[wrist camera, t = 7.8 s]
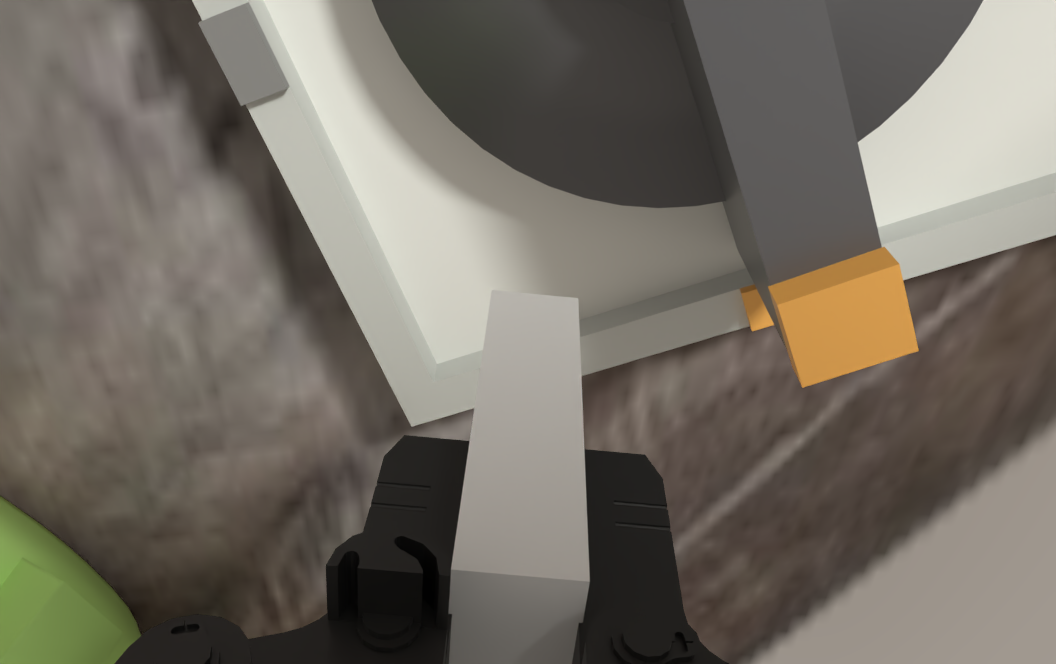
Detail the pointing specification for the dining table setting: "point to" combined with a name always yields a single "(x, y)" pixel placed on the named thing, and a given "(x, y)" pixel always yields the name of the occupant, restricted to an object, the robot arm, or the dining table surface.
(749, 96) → the dial
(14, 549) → the teapot
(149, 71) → the dining table surface
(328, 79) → the panel
